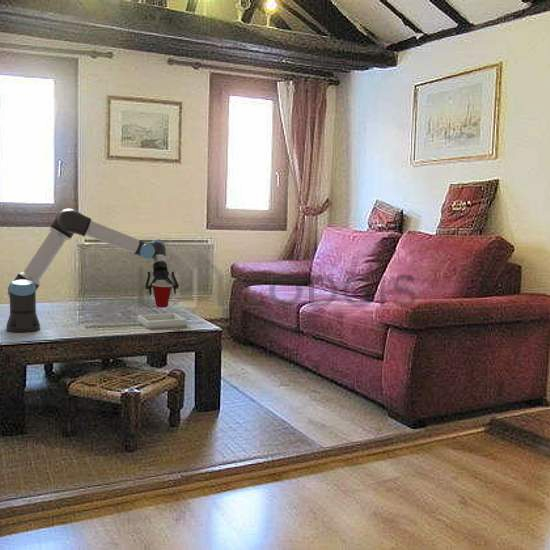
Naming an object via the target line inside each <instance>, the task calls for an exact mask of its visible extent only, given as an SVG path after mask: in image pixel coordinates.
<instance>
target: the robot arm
mask: <svg viewBox="0 0 550 550" xmlns="http://www.w3.org/2000/svg"><path fill="white" fill-rule="evenodd" d="M49 230H50V231H49V233H48V235H47V236H46V237H45V239H44V240H43V242H42V243H41V244H40V246H39V248H38V249H37V251H36V252H35V254H34V256H33V257H32V258H31V260H30V261H29V263H28V264H27V266H26V267H25V269H24V271H21V272H18V274H17V275H16V277H15V278H14V280H13V281H10V282H9V285H8V287H7V296H8V298H9V316H8V320H7V322H6V326H5V327H6V331H7V332H9V333H31V332H36V331H39V330H40V329H41V323H40V320H39V317H38V316H37V315H38V314H37V312H36V311H37V309H36V308H37V299H36V297H37V296H36V292H37V291H38V289H39V287H40V286H41V283H40V280H41V279H42V277H43V275H44V274H45V273H46V271H47V270H48V268H49V266H50V265H51V263H52V262H53V260H54V259H55V257H56V255H57V254H58V253H59V251H60V250H61V248H62V247H63V245H64V243H66V242H67V241H69V240H71V239H72V237H73V236H74V235H80V236H81V237H87V236H88V237H90V238H92V239H95V240H98V241H100V242H103V243H106V244H108V245H110V246H113V247H115V248H118V249H120V250H124V251H127V252H128V253H129V255H132V256H133V255H134V256H139V257H142V258H143V259H151V260H152V272H151V271H148V272H147V278H146V281H145V282H146V283H145V285H144V286H145V287H144V290H148V295H150V296H151V301H153V302H154V300H155V296H154V290H153V286H152V283H157V282H158V281H161V280H162V281H165V283H168V284H172V285H173V286H172V288H171V291H170V292H171V297H172V301H175V295H176V294H177V290H179V287H180V284H179V283H178V280H177V278H176V276H175V271H172V272H170V271H169V268H168V261H167V254H166V253H167V252H166V251H167V249H166V244H165V242H164V240H162V239H153V240H152V241H151V242H146V241H143V240H140V239H138V238H137V237H133V236H130V235H128V234H125V233H123V232H120V231H117V230H115V229H113V228H110V227H109V226H106V225H103V224H101V223H97V222H95V221H93V219H92V218H91V217H88V216H86V215H84V214H82V213H81V212H79V211H78V210H75V209H73V208H70V207H69V208H63V209H60V210H58V212H57V213H56V214H55V218H54V220H53V221H52V223H51V224H50V225H49ZM152 276H153V279H152V281H151V283H150V280H151V278H152ZM170 278H171V279H170Z"/></svg>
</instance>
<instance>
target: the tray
mask: <svg viewBox="0 0 550 550" xmlns="http://www.w3.org/2000/svg"><path fill="white" fill-rule="evenodd" d="M137 323H139V324H140V323H141V324H142V325H141V324H140V325H141V326H143V328H146V329H147V330H153V329H155V330H156V329H167V328H181V327H182V328H184V327H185V328H187V325H188V324H187V319H186V318H184V317H183V316H181V315H178V314H177V313H175V312H173V313H172V312H171V313H154V314H138V315H137Z"/></svg>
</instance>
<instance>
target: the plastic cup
mask: <svg viewBox="0 0 550 550" xmlns="http://www.w3.org/2000/svg"><path fill="white" fill-rule="evenodd" d="M152 286H153V295H154V300H155V301H154V302H155V306H156V308H167V307H168V306H169V300H170V295H171V292H172V291H171V290H172V286H173V285H172V284H168V283H167V282H155V283H152Z"/></svg>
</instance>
